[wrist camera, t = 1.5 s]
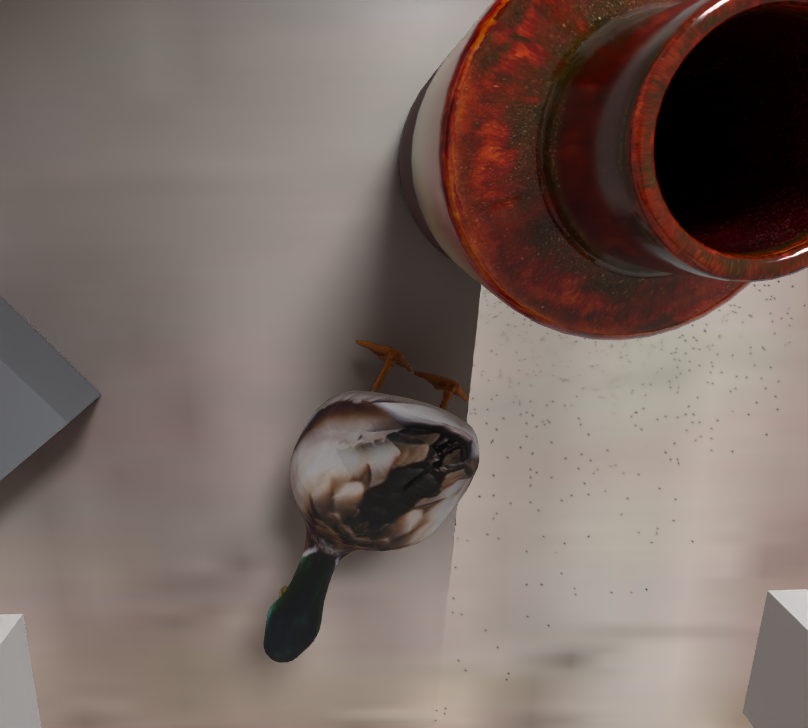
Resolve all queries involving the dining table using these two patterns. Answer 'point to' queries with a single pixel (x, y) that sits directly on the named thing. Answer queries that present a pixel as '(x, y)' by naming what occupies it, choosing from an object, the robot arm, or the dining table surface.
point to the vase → (617, 157)
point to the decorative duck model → (368, 488)
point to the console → (33, 390)
